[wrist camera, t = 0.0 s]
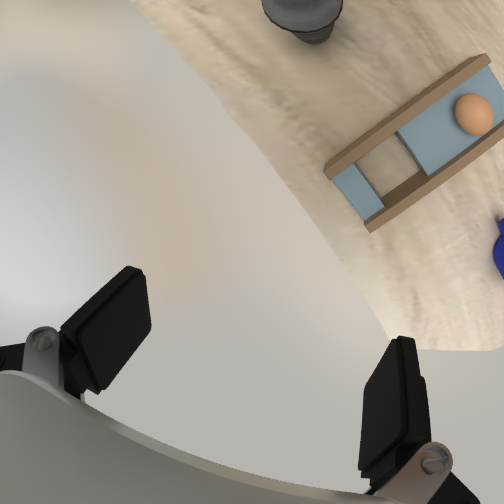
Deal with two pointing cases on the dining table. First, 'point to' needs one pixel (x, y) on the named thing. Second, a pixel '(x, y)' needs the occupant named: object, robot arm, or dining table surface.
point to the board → (422, 142)
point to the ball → (474, 114)
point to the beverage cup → (304, 17)
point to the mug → (500, 250)
